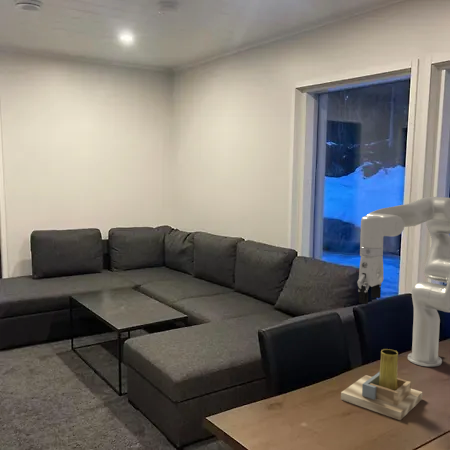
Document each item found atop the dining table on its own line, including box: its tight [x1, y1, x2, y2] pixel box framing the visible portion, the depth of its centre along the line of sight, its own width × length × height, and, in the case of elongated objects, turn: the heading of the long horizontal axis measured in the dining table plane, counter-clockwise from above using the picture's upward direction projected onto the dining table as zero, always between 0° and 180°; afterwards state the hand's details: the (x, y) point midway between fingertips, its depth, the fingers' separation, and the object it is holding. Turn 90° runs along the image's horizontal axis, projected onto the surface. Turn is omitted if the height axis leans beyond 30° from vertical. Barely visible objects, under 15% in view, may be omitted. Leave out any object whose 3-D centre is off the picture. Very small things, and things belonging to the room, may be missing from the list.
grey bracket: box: [362, 371, 380, 400], centre depth 161 cm, size 14×4×4 cm, turn 138°
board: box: [340, 374, 423, 421], centre depth 160 cm, size 18×20×6 cm
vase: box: [379, 348, 399, 391], centre depth 158 cm, size 6×6×14 cm
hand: (369, 300), depth 169 cm, fingers open, 9 cm apart
